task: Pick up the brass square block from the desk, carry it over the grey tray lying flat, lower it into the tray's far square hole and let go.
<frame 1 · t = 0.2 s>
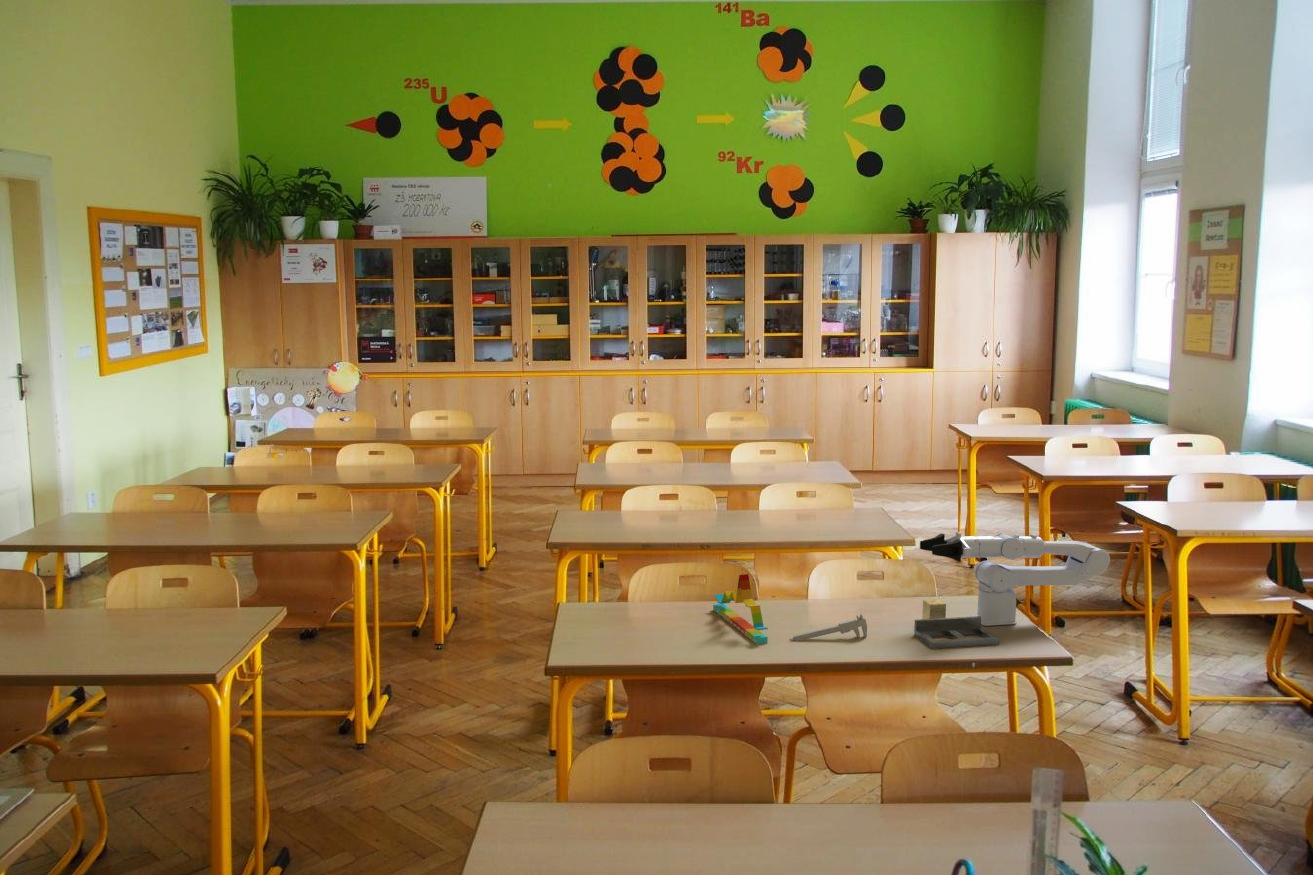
hand: (926, 547, 290), 21 cm above the table, tool horizontal, fingers open, 7 cm apart
brass block: (933, 623, 294), on the table
grey tray: (956, 640, 280), on the table
rainbow striped peaked bar: (738, 627, 292), on the table
caliper: (828, 640, 282), on the table
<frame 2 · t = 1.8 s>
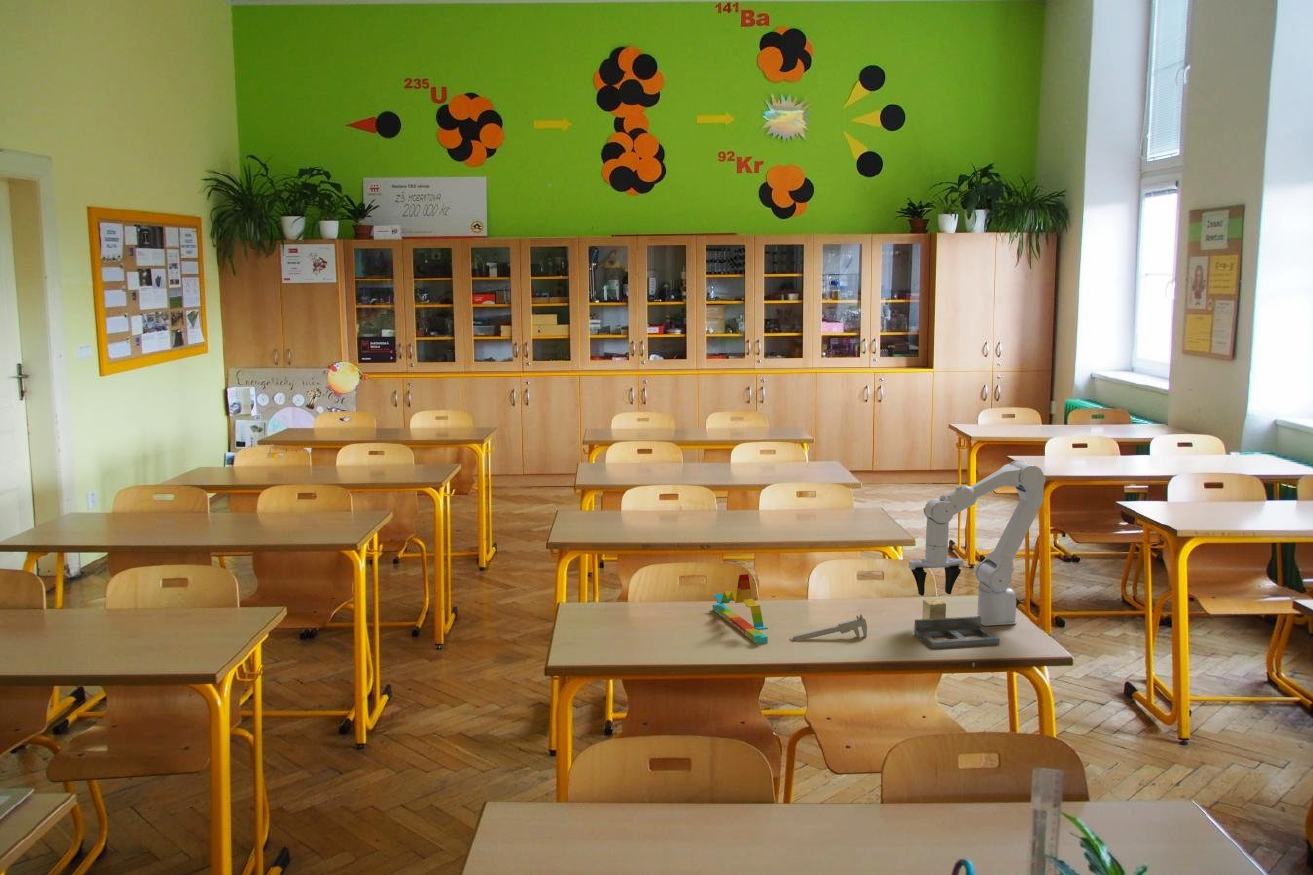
hand: (934, 594, 293), 8 cm above the table, tool pointing down, fingers open, 7 cm apart
nothing on the table moved.
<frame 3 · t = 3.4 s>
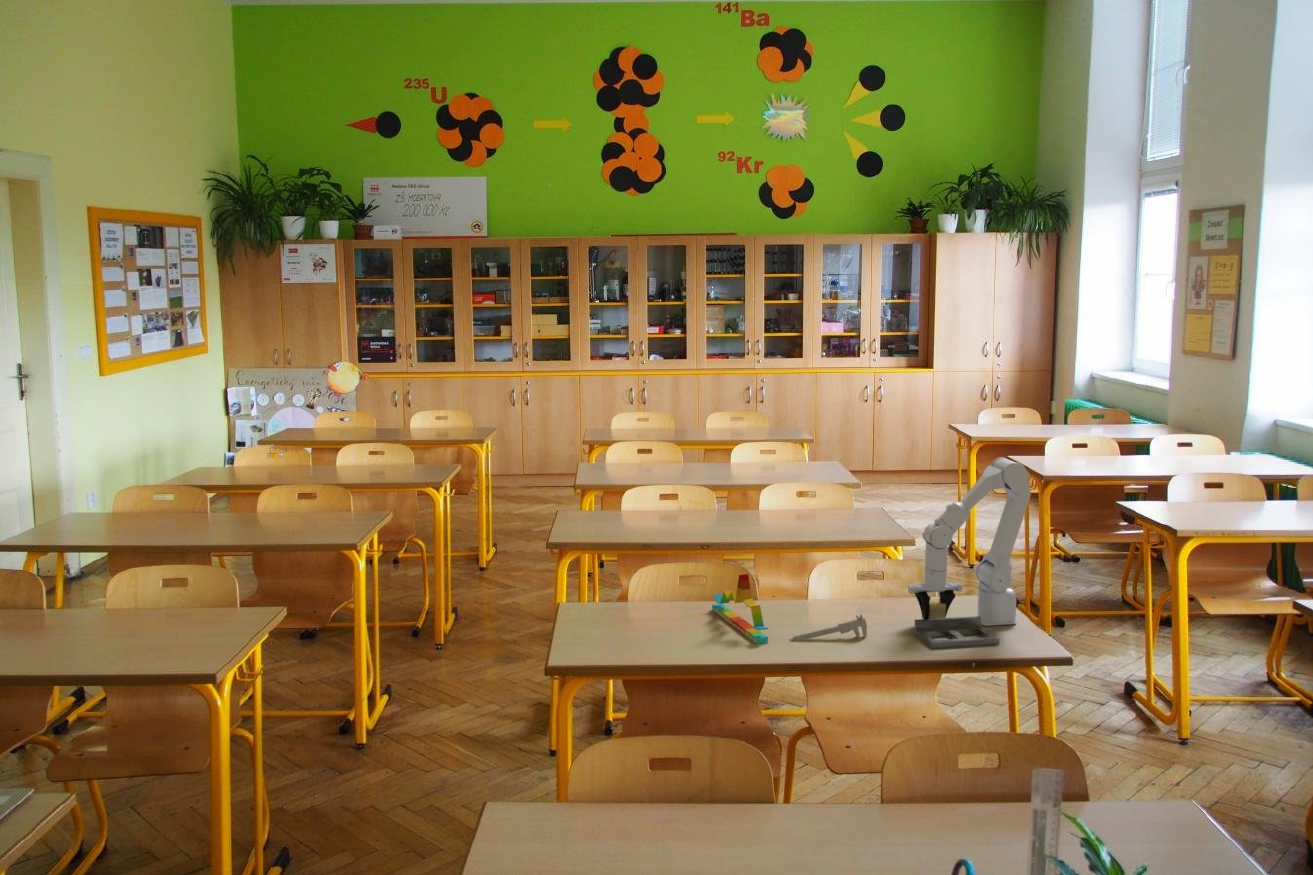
hand: (933, 618, 294), 1 cm above the table, tool pointing down, fingers closed on brass block, 4 cm apart
brass block: (933, 623, 294), on the table, touching gripper
everything else where it was.
when the fingers open (2 cm above the table, at t = 7.2 s): brass block stays where it is, resting in grey tray.
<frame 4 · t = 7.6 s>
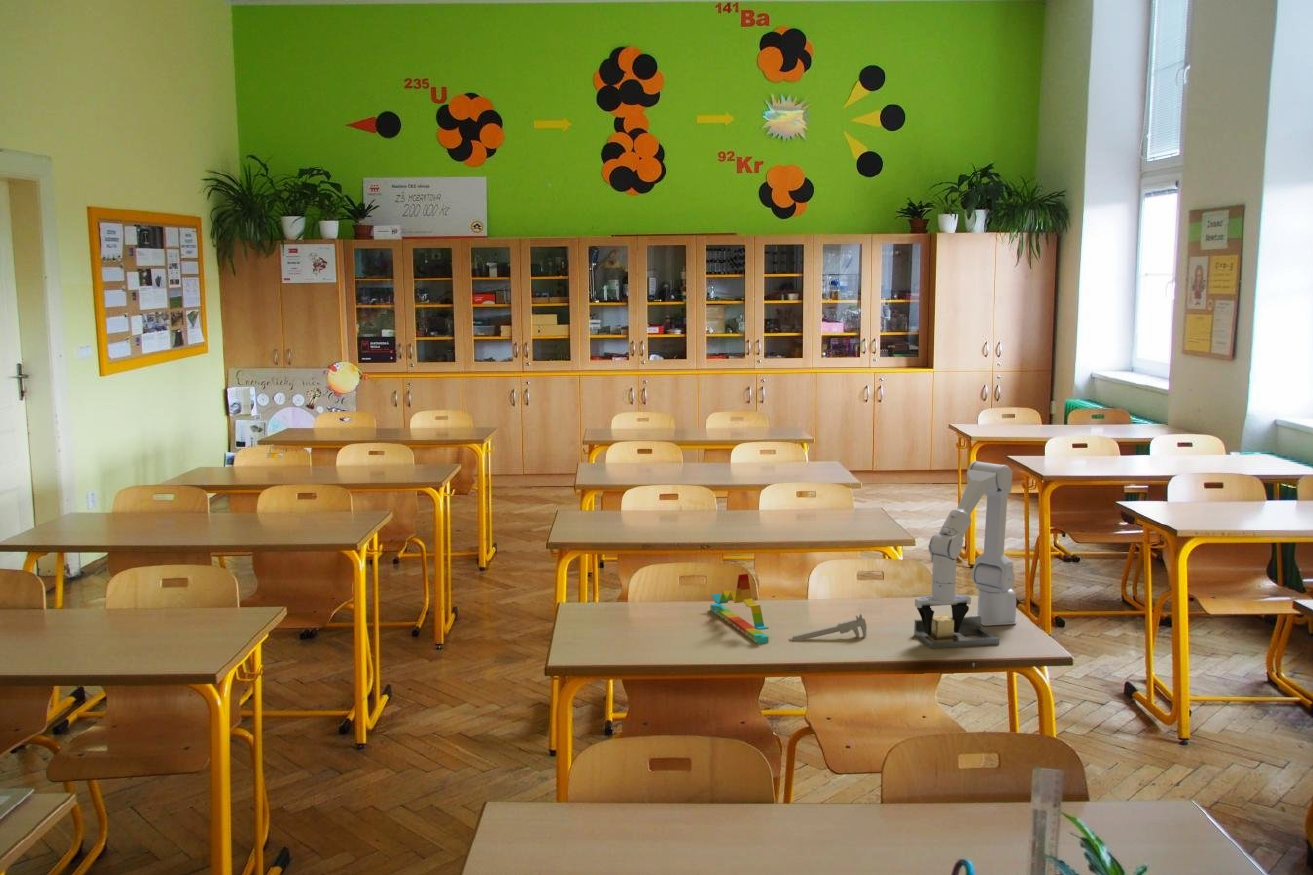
hand: (941, 632, 279), 2 cm above the table, tool pointing down, fingers open, 7 cm apart
brass block: (940, 640, 280), resting in grey tray
everything else where it was.
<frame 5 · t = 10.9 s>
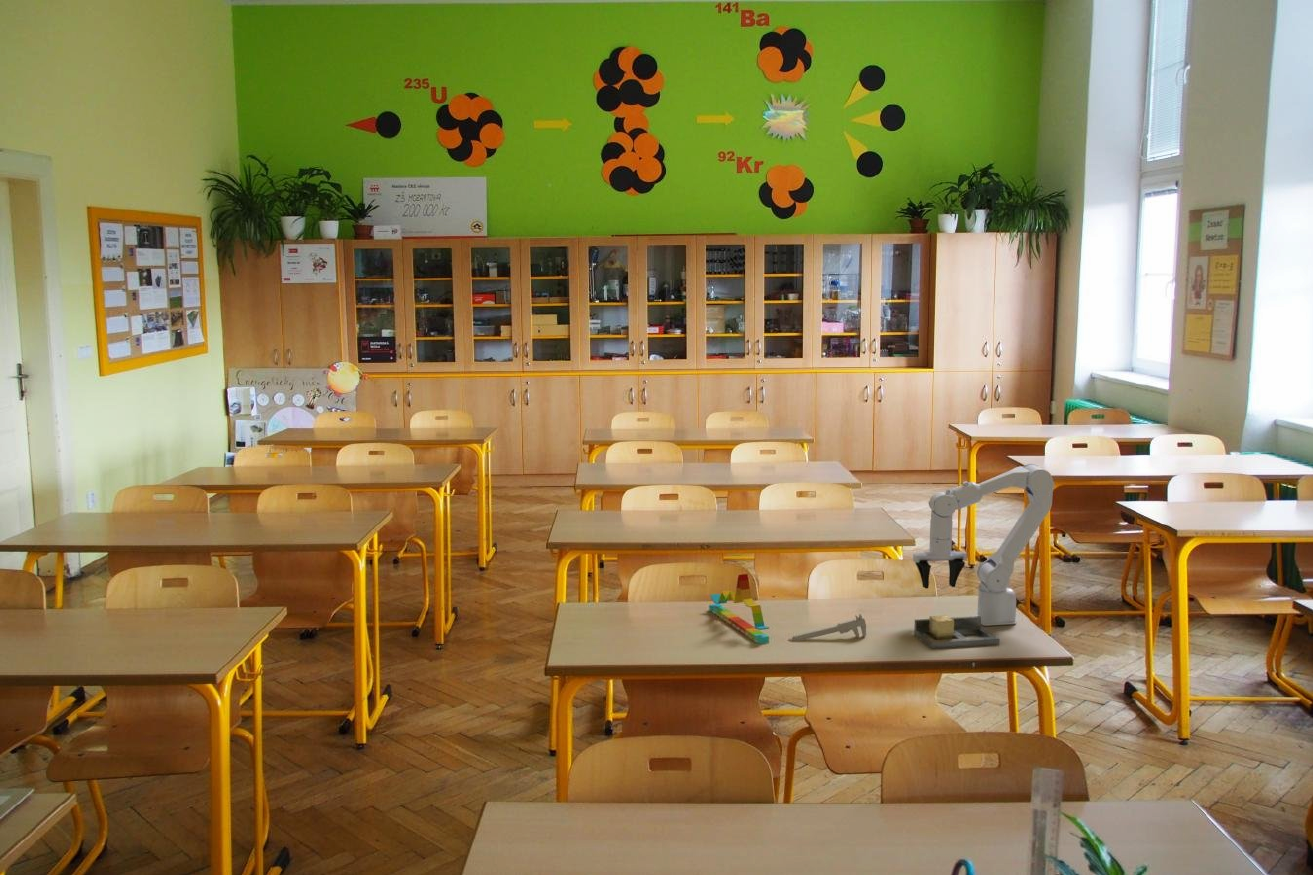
hand: (938, 586, 295), 9 cm above the table, tool pointing down, fingers open, 7 cm apart
nothing on the table moved.
at the end: brass block 0.3 cm from the target spot on the grey tray, point 0.0 cm above the grey tray's base; brass block tilted 0°; the gripper is holding nothing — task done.
